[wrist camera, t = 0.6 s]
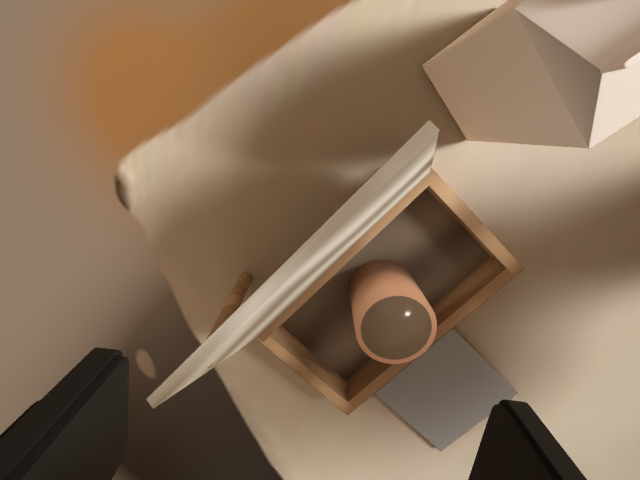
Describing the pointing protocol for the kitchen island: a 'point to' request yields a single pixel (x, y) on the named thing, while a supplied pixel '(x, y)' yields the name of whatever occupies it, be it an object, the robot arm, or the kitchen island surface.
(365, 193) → the box
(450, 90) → the milk carton
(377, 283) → the pot
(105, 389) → the robot arm
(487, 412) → the slate tile
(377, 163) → the kitchen island surface
